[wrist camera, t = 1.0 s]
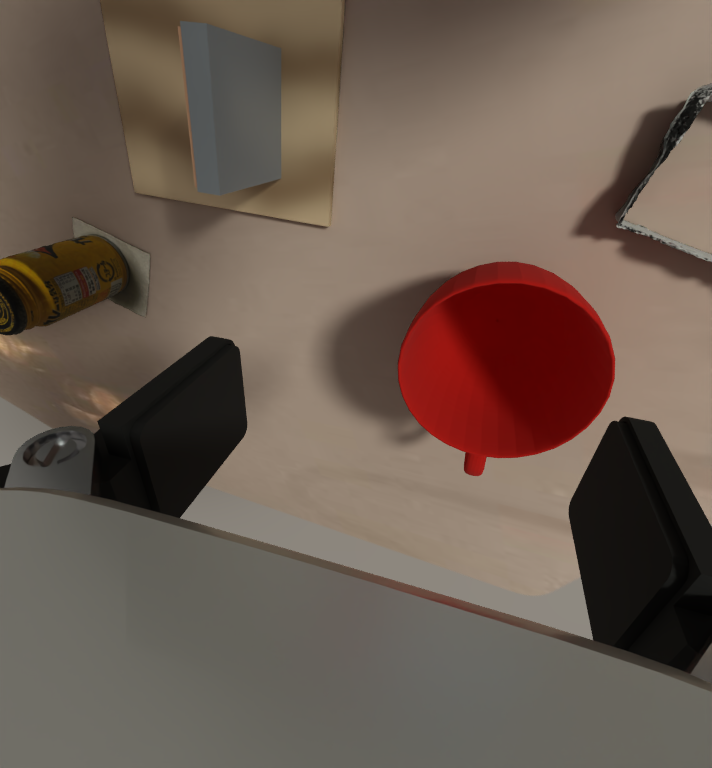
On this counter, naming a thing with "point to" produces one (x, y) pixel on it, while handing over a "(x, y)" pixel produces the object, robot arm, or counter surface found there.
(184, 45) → the slate tile
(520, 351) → the ceramic cup
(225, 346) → the robot arm
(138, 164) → the cork mat
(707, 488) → the counter surface
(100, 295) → the condiment
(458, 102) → the counter surface
